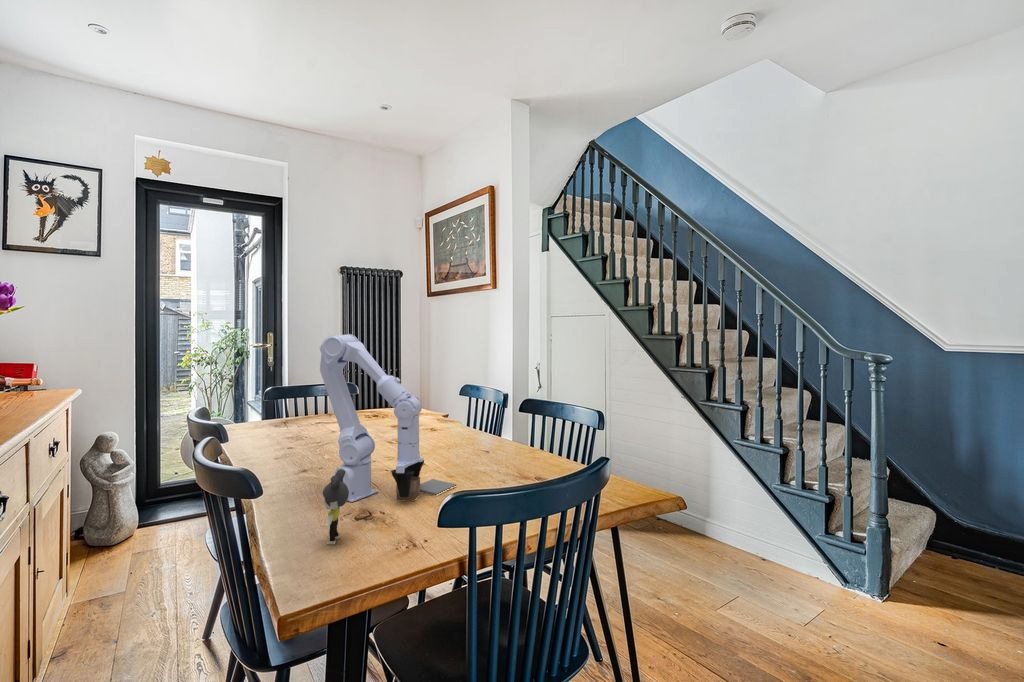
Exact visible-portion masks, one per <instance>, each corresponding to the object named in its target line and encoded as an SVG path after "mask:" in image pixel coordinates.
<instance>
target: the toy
mask: <svg viewBox="0 0 1024 682" xmlns="http://www.w3.org/2000/svg"><path fill="white" fill-rule="evenodd" d="M344 475H345V471H344V470H341V469H339V470H338V471H337V473H336V474H335V476H334V475H332V476H331V478H330V482H329V483H328V484H326V485H325V487H324V488H323V490H322V496H323V497H324V500H323V502H322V503H323V504H324V507H325V509H326V510H329V512H328V514H327V516H328V517H327V520H326V522H325V524H324V527H325V528H328V527H329V532H328V534H329V541H327V542H326V545H336V544H335V543H336V540H339V538H340V534H339V532H338V524H339V516H340V515H339V513H340V512H341V507H343V506H345V504H346V503H347V502H348V501H347V499H348V495H349V490H348V488H347V486H346V484H345V483H344V482H343V477H344Z"/></svg>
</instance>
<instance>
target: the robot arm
mask: <svg viewBox="0 0 1024 682" xmlns="http://www.w3.org/2000/svg"><path fill="white" fill-rule="evenodd" d="M319 346H320V347H319V351H320V354H321V355H320V363H319V371H320V375H321V378H322V380H323V384H324V386H325V390H326V392H327V396H328V398H329V401H330V403H331V406H332V409H333V414H334V415H335V419H336V421H337V424H338V427H339V430H340V434H339V435H338V439H337V442H338V446H339V450H338V456H339V458H340V460H341V461H342V462H343V463H342V465H340V467H337V468H336V469H335V471H334V474H333V476H335V474H336V473H337V471H338V470H339V469H341V470H344V471H345V475H344V477H343V482H344V483H345V484H346V486H347V488H348V490H349V495H348V499H347V501H346V502H349V503H353V502H356V501H359V500H361V499H363V498H367V497H369V496H371V495H374V494H377V493H379V490H378V489H375V488H372V454H373V453H374V451H375V448H376V444H375V440H374V438H373V437H372V436H371V435H370V434H369V432H368V430H367V428H366V427H365V426H363V425H362V424H361V422H360V419H359V417H358V413H357V410H356V407H355V405H354V401H353V399H352V395H351V393H350V390H349V387H348V386H349V385H348V384H347V381H346V379H345V375H344V372H343V369H344V368H346V365H347V364H348V362H351V363H356V365H358V366H359V367H360V368H361V369H362V370H363V371H364V372H365V373H366V374H367V375H368V376H369V377H370V378H371V379H372V380H373V381H374V382H375V383H376V391H377V392H378V394H380V395H381V396H382V397H383V399H384V400H386V402H388V404H389V406H391V407H392V408H393V415H394V416H395V418H396V419H397V426H396V427H397V458H396V466H395V469H393V470H391V476H392V478H393V479H394V482H395V483H396V484H397V487H398V491H399V495H400V497H408V495H409V491H410V483H411V479H412V477H420V473H421V470H422V468H423V465H424V463H425V459H424V457H421V454H420V453H421V451H420V414H421V411H422V408H423V405H422V402H421V399H419V397H418V396H416V395H412V392H411V391H408V390H407V388H405V387H404V385H402V383H401V379H400V378H399V377H395V376H394V375H389V374H387V373H386V372H385V371H384V370H383V368H381V366H380V365H379V364H378V362H377V361H376V360H375V359H374V357H373V356H372V355H371V354H370V352H369V351H368V350H367V348H366V347H365V345H364V343H363V342H361V341H359V339H358V338H357V337H356V336H355V335H354V334H351V333H346V334H338V335H337V334H330V335H328V336H326V337H325V338H324V340H323V342H322V344H321V345H319Z"/></svg>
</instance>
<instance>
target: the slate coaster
mask: <svg viewBox="0 0 1024 682" xmlns="http://www.w3.org/2000/svg"><path fill="white" fill-rule="evenodd" d="M456 485H458V484H457V483H453V482H447V481H444V480H443V481H442V480H439V479H433V478H431V479H429V480H426V481H424V482H421V483H420V492H423V493H422V494H425V493H428V494H427V495H429V494H433V495H437V494H439V493H441V492H443V491H445V490H447V489H450V488H451V487H454V486H456ZM433 495H432V496H433Z"/></svg>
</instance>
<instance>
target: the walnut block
mask: <svg viewBox="0 0 1024 682" xmlns="http://www.w3.org/2000/svg"><path fill="white" fill-rule="evenodd" d="M420 484H421V476H419V477H412V479H411V483H410V491H409V495H408V497H400V495H399V491H398V487H397V484H396V487H395V488H396V494H395V496H396V501H402V500H415V499H416V498H417V497H418V496H420V495H421V493H420ZM418 498H419V497H418ZM418 498H417V499H418ZM417 499H416V500H417ZM416 500H415V501H416Z"/></svg>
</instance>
